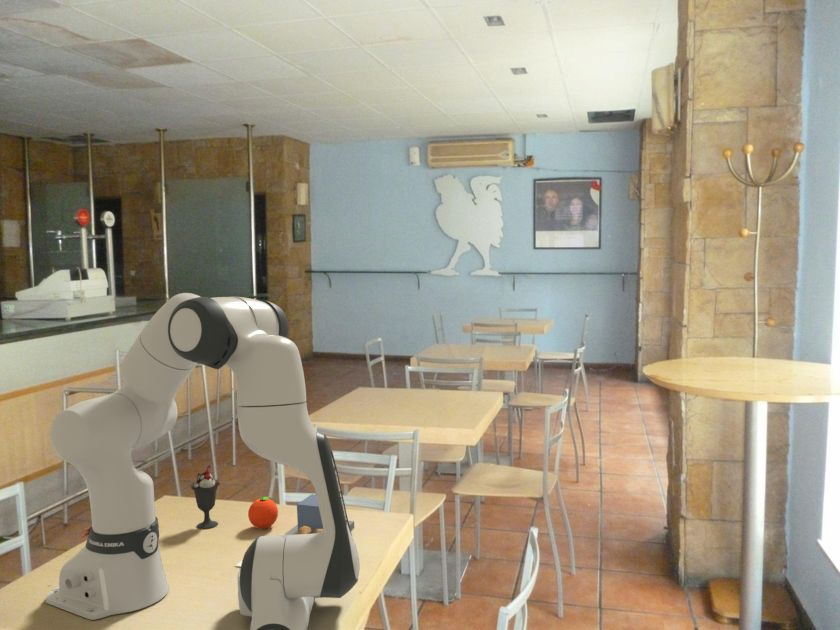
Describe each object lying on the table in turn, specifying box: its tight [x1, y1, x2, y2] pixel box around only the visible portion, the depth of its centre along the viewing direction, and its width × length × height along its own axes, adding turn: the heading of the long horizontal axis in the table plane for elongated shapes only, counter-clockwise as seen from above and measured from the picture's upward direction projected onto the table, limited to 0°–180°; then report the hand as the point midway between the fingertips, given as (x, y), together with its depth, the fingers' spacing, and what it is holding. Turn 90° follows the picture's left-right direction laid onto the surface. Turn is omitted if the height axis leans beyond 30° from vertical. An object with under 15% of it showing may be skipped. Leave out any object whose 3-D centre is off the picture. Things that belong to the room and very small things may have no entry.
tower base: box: [283, 493, 355, 535], centre depth 162 cm, size 12×12×8 cm
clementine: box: [247, 496, 279, 529], centre depth 168 cm, size 8×7×7 cm
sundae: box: [190, 464, 221, 530], centre depth 170 cm, size 7×7×15 cm
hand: (299, 561), depth 137 cm, fingers closed on terracotta brick, 7 cm apart
